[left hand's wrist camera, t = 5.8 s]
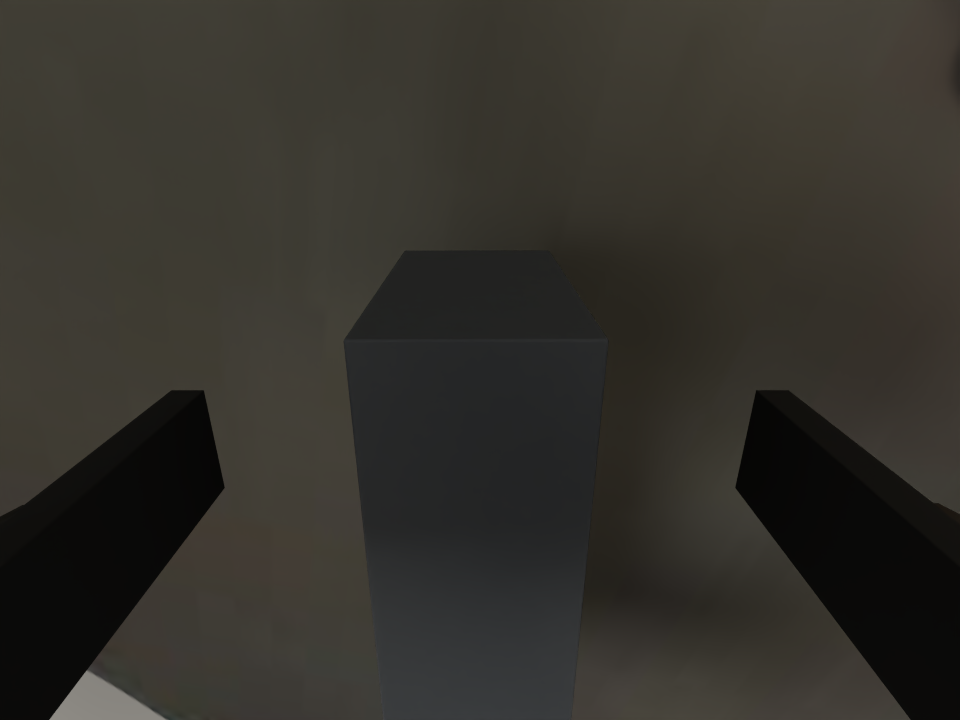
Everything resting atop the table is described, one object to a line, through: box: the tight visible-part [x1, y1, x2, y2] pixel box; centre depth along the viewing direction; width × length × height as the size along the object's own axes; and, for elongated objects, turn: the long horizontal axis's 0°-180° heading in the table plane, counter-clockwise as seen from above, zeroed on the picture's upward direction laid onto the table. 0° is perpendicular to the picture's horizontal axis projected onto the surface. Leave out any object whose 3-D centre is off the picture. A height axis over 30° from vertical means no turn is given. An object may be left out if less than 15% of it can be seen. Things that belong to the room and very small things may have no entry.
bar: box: [344, 251, 608, 720], centre depth 17 cm, size 24×5×8 cm, turn 0°
